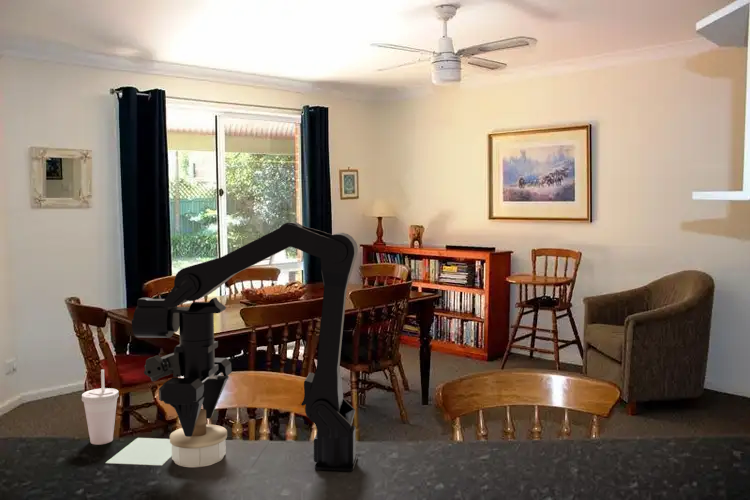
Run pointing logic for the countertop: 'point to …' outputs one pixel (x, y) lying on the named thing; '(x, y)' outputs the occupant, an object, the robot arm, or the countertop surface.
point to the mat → (144, 452)
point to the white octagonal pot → (198, 455)
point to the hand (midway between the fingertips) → (198, 426)
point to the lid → (199, 434)
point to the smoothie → (100, 412)
